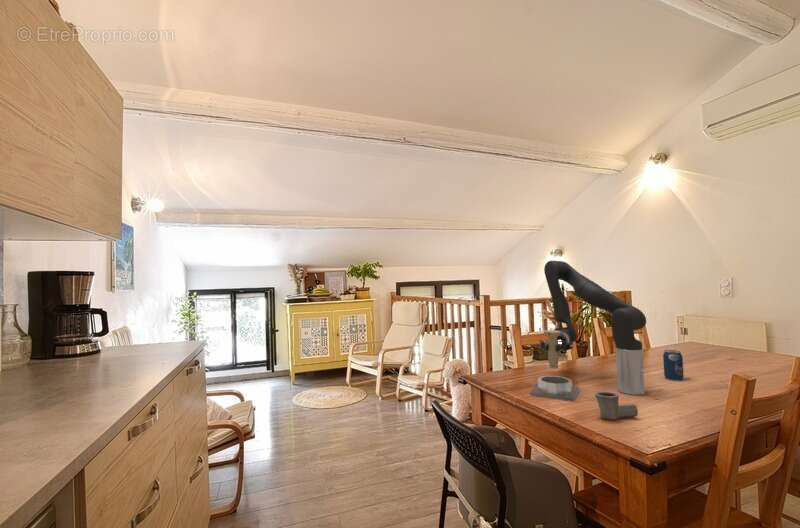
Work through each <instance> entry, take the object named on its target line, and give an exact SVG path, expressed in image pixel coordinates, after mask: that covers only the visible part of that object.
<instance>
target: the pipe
mask: <svg viewBox="0 0 800 528" xmlns="http://www.w3.org/2000/svg"><path fill="white" fill-rule="evenodd" d="M594 397H595V399H596V401H597V404H598V408H599V416H600V417H601V418H602V419H604V420H609V421H615V420H617V419H619V418H631V417H633V418H634V417H637V416H638V413H639V412H638V411H639V409H638V407H637V405H635V404H624V405H623V404H622V405H619V399H620V398H619V397H620V396H619V394H618V393H614V392H608V391H597V392H595V393H594Z"/></svg>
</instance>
